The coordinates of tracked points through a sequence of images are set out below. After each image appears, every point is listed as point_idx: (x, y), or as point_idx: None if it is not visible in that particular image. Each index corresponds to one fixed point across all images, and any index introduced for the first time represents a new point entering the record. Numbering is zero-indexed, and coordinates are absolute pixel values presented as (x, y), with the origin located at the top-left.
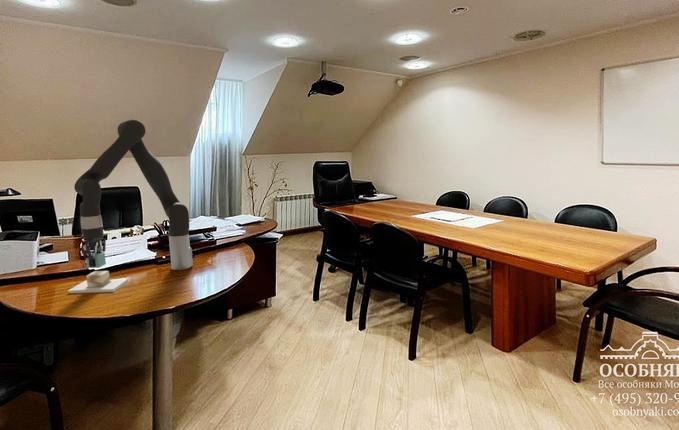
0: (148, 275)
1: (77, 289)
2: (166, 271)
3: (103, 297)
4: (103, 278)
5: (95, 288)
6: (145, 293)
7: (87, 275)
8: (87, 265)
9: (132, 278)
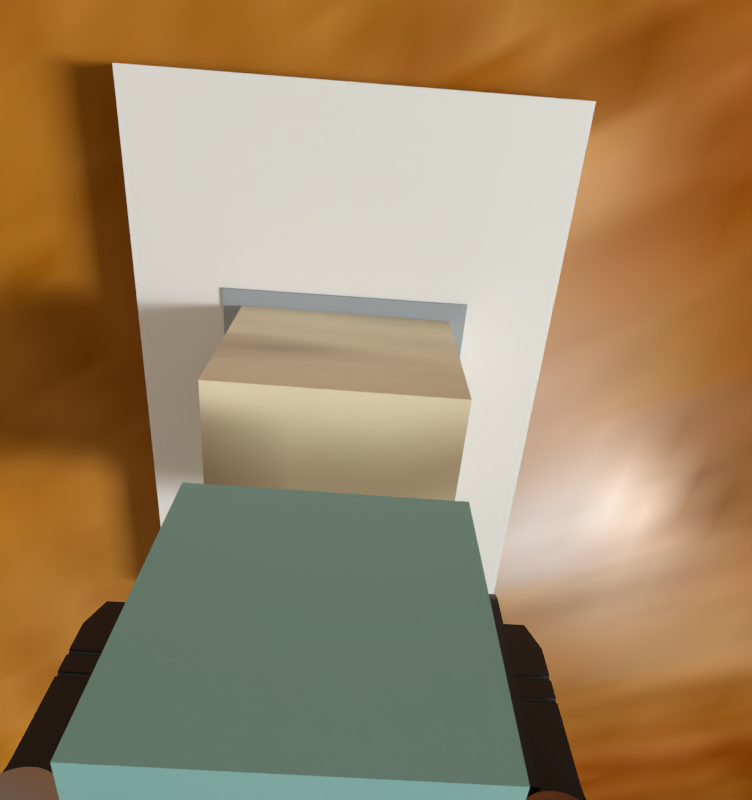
0: (652, 699)
1: (159, 197)
2: (722, 791)
3: (36, 541)
4: None
5: (192, 422)
6: None
7: (221, 389)
8: (164, 537)
9: (601, 599)
